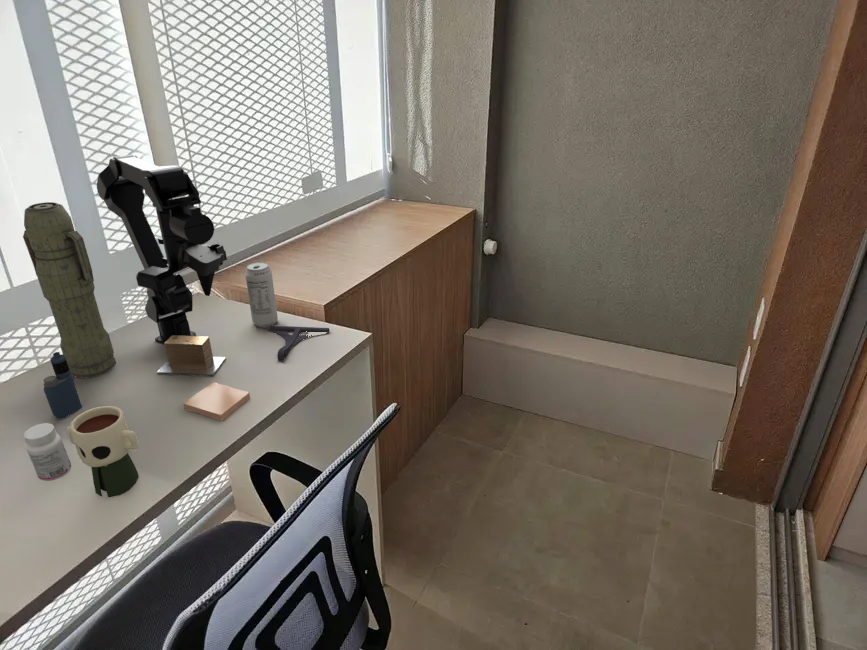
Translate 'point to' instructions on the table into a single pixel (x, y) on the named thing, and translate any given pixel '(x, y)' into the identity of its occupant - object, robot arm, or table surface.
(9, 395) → the table surface
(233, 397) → the tile
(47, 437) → the pill bottle
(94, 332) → the thermos
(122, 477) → the character mug
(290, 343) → the bracket
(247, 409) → the table surface
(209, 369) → the block on grey plate
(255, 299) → the energy drink can
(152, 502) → the table surface
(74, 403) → the vaping device
